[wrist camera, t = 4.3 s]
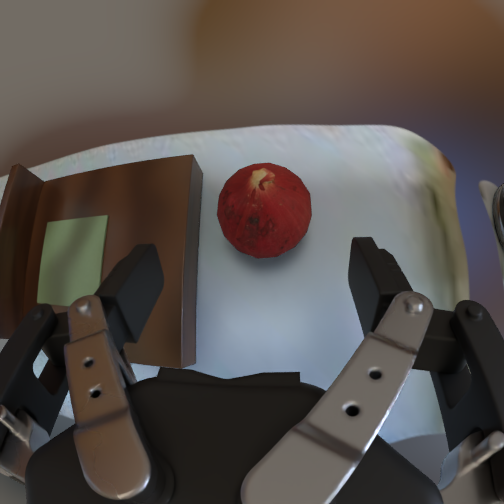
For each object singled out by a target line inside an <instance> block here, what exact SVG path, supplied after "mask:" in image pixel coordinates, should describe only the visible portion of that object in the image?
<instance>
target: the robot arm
mask: <svg viewBox="0 0 504 504" xmlns="http://www.w3.org/2000/svg"><path fill="white" fill-rule="evenodd" d="M493 213H494V221H495V226H496V230H497V234H498V237H499V239H500V242H501V244H502V247H503V249H504V183H503V184H502V185H501V186H500V187H499V188H498V189H497V191H496V194H495V197H494V203H493ZM107 276H108V277H106V278H105V279H104V281H103V282H102V283H101V285H100V286H99V288H98V289H97V290H96V292H95V293H94V294H93V295H86V296H82V297H80V298H78V299H77V300H75V301H74V302H73V303H72V304H71V305H70V307H69V308H68V311H67V312H62V313H56V314H55V312H54V310H53V308H52V306H51V305H50V304H48V303H43V304H39V305H37V306H35V307H33V308H32V309H31V310H30V311H29V312H28V313H27V314H26V316H25V317H24V318H23V320H22V321H21V323H20V324H19V326H18V327H17V328H16V330H15V331H14V333H13V334H12V336H11V337H10V339H9V340H8V342H7V343H6V345H5V346H4V348H3V349H2V351H1V353H0V472H1V473H2V474H4V475H6V476H9V477H10V478H12V479H14V480H15V481H17V482H19V483H20V484H23V485H25V488H26V499H27V504H504V340H503V338H502V336H501V334H500V332H499V330H498V328H497V327H496V325H495V323H494V321H493V320H492V318H491V316H490V314H489V313H488V311H487V310H486V309H485V308H484V307H483V306H482V305H481V304H479V303H477V302H475V301H471V300H463V301H460V302H459V303H458V304H457V305H456V307H455V310H454V312H452V311H445V310H438V309H434V308H433V304H432V302H431V301H430V300H429V299H428V298H427V297H426V296H424V295H422V294H420V293H418V292H414V291H413V289H412V288H411V286H410V284H409V282H408V280H407V279H406V277H405V275H404V273H403V272H401V268H400V267H399V265H398V263H397V262H396V260H395V258H394V257H393V255H392V254H390V253H389V252H388V251H386V250H385V249H378V247H377V245H376V244H375V242H374V240H373V238H372V237H353V239H352V243H351V252H350V261H349V270H348V281H349V287H350V290H351V293H352V296H353V300H354V303H355V306H356V310H357V313H358V316H359V320H360V323H361V327H362V330H363V334H364V340H363V341H362V343H361V344H360V345H359V347H358V348H357V350H356V351H355V353H354V354H353V356H352V357H351V359H350V360H349V361H348V363H347V364H346V366H345V367H344V368H343V370H342V371H341V373H340V374H339V375H338V377H337V378H336V379H335V381H334V382H333V383H332V385H331V386H330V387H329V388H328V390H327V391H325V390H324V389H322V388H319V387H317V386H314V385H311V384H307V383H302V382H300V372H274V373H259V374H254V375H249V376H243V377H238V378H232V379H222V378H218V377H214V376H211V375H207V374H204V373H201V372H197V371H194V370H188V369H176V368H166V367H160V369H159V372H158V375H157V377H152V378H148V379H144V380H141V381H138V382H137V380H136V377H135V375H134V372H133V370H132V367H131V365H130V362H129V359H128V356H127V354H126V351H125V349H124V347H123V346H124V344H125V342H126V343H135V344H137V342H138V340H139V338H140V335H141V333H142V331H143V329H144V327H145V325H146V323H147V320H148V318H149V316H150V314H151V312H152V310H153V308H154V306H155V304H156V302H157V300H158V298H159V296H160V294H161V292H162V290H163V287H164V274H163V270H162V267H161V263H160V259H159V256H158V252H157V248H156V246H155V245H154V244H153V243H151V244H137V245H135V247H134V248H133V249H132V250H131V252H130V253H129V254H128V256H126V257H124V258H123V259H121V260H120V261H119V262H117V264H116V265H115V266H114V268H113V269H112V271H111V272H110V273H109V274H108V275H107ZM41 349H42V350H43V351H44V353H45V354H46V356H47V357H48V358H49V359H48V361H47V363H46V365H45V367H44V369H43V371H42V372H41V374H40V376H39V378H37V377H36V376H35V374H34V372H33V363H34V361H35V359H36V357H37V356H38V354H39V352H40V350H41ZM467 364H468V366H467ZM468 367H469V369H470V372H471V374H470V372H469V369H468ZM411 369H417V370H425V371H430V374H431V377H432V381H433V384H434V388H435V391H436V395H437V399H438V402H439V406H440V410H441V414H442V419H443V423H444V427H445V432H446V437H447V441H448V447H449V452H450V453H448V454H447V456H446V457H445V458H444V460H443V462H442V465H441V476H440V481H439V484H438V486H436V485H435V483H433V481H432V480H431V479H429V478H428V477H427V476H426V475H425V474H423V473H422V472H421V471H419V470H418V469H417V468H416V467H415V466H414V465H412V464H411V463H410V462H409V461H408V460H407V459H405V458H404V457H403V456H402V455H401V454H399V453H398V452H397V451H396V450H395V449H393V448H392V447H391V446H390V445H389V444H388V443H387V442H386V441H384V440H383V439H382V438H381V437H380V436H379V435H378V432H379V430H380V429H381V427H382V425H383V423H384V422H385V420H386V418H387V416H388V415H389V413H390V411H391V409H392V407H393V405H394V403H395V401H396V400H397V398H398V396H399V394H400V392H401V390H402V388H403V386H404V384H405V381H406V379H407V377H408V375H409V373H410V371H411ZM68 390H69V392H70V398H71V404H72V409H73V414H74V418H75V424H74V425H72V426H71V427H69V428H68V429H66V430H65V431H64V432H62V433H60V434H59V435H57V436H56V437H54V438H53V439H52V440H50V441H49V437H50V435H51V432H52V429H53V427H54V424H55V421H56V419H57V417H58V414H59V412H60V409H61V407H62V404H63V402H64V400H65V397H66V395H67V393H68Z"/></svg>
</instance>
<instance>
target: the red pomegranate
mask: <svg viewBox="0 0 504 504" xmlns="http://www.w3.org/2000/svg"><path fill="white" fill-rule="evenodd" d="M311 216H312V213H311V199H310V193H309V191H308V190H307V188H306V187H305V185H304V183H303V182H302V180H301V179H300V178H299V177H298V176H297V175H295V174H294V173H293V172H291V171H290V170H288V169H287V168H285V167H282V166H279V165H275V164H272V163H259V164H252V165H250V166H247V167H244V168H242V169H239V170H238V171H237V172H236V173H235V174H234V175H232V176H231V177H230V178H229V179H228V180H227V181H226V183H225V185H224V187H223V189H222V191H221V193H220V195H219V200H218V210H217V217H218V220H219V223H220V226H221V229H222V232H223V234H224V236H225V237H226V238H227V240H228V241H229V242H230V243H231V244H232V245H233V246H234V247H235V248H236V249H237V250H238V251H240V252H242V253H245V254H247V255H250V256H253V257H255V258H270V257H278V256H279V255H281V254H283V253H285V252H287V251H288V250H290V249H292V248H294V247H295V246H296V245H297V244H298V242H299V241H300V240H301V239H302V238H303V236H304V235H305V234H306V233H307V230H308V226H309V223H310V220H311Z"/></svg>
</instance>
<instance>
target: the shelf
mask: <svg viewBox="0 0 504 504" xmlns="http://www.w3.org/2000/svg"><path fill="white" fill-rule="evenodd" d="M202 179H203V173H202V171H201V169H200V167H199V165H198V163H197V161H196V159H195V157H194V155H183V156H175V157H168V158H161V159H154V160H147V161H141V162H134V163H129V164H123V165H117V166H112V167H107V168H102V169H97V170H92V171H87V172H83V173H78V174H74V175H69V176H65V177H61V178H57V179H53V180H49V181H45V182H44V181H43V180H41V179H40V178H38V177H37V176H36V175H34V174H33V173H31V172H30V171H29V170H27V169H26V168H24V167H23V166H22V165H20V164H16V165H14V166H12V168H11V171H10V174H9V177H8V181H7V184H6V187H5V190H4V194H3V197H2V201H1V205H0V339H10V337H11V336H12V334H13V333H14V331H15V330H16V328H17V327H18V326H19V324H20V323H21V321H22V320H23V318H24V317H25V316H26V314H27V313H28V312H29V311H30V310H31V309H32V308H33V307H35V306H37V305H39V304H43V303H48V304H50V305H51V306H52V308H53V310H54V312H55V314H56V313H62V312H67V311H68V308H69V307H70V305H71V304H72V303H73V302H74V301H75V300H77V299H78V298H80V297H82V296H86V295H93V294H94V293H95V292H96V290H97V289H98V288H99V286H100V285H101V283H102V282H103V281H104V279H105V278H106V277H108V276H107V275H108V274H109V273H110V272H111V271H112V269H113V268H114V266H115V265H116V264H117V262H119V261H120V260H121V259H123V258H124V257H126V256H128V254H129V253H130V252H131V250H132V249H133V248H134V247H135V245H137V244H151V243H153V244H154V245H155V246H156V248H157V252H158V256H159V259H160V263H161V267H162V270H163V274H164V287H163V290H162V292H161V294H160V296H159V298H158V300H157V302H156V304H155V306H154V308H153V310H152V312H151V314H150V316H149V318H148V320H147V323H146V325H145V327H144V329H143V331H142V333H141V335H140V338H139V340H138V342H137V344H135V343H126V342H125V344H124V346H123V347H124V349H125V351H126V354H127V356H128V359H129V362H130V363H136V364H143V365H151V366H160V367H169V368H180V369H182V368H185V367H187V366H190V365H192V364H195V363H196V290H197V261H198V240H199V222H200V206H201V192H202Z"/></svg>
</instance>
